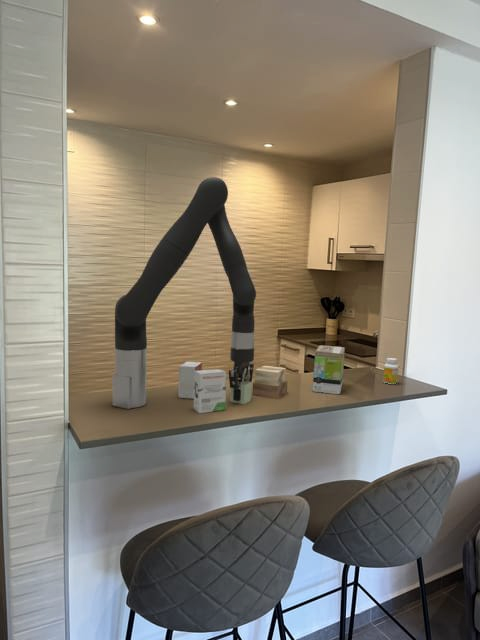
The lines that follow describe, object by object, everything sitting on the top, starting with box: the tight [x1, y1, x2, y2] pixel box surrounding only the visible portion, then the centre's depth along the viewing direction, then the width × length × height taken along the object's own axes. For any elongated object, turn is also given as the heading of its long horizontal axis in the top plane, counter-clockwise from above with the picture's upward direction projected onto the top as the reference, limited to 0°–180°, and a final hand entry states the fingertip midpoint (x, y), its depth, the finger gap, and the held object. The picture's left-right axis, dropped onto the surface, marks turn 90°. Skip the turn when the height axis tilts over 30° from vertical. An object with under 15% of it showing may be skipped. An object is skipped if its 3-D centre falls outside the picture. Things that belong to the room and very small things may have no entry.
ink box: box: [193, 368, 227, 414], centre depth 134 cm, size 9×5×12 cm, turn 116°
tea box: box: [311, 344, 346, 395], centre depth 164 cm, size 15×10×15 cm
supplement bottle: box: [382, 357, 399, 385], centre depth 175 cm, size 5×5×10 cm
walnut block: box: [251, 380, 288, 400], centre depth 154 cm, size 9×9×4 cm
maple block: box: [254, 365, 287, 386], centre depth 153 cm, size 8×8×4 cm
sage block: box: [229, 381, 253, 405], centre depth 144 cm, size 5×5×6 cm
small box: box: [178, 361, 203, 400], centre depth 149 cm, size 8×6×10 cm
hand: (240, 398), depth 145 cm, fingers closed on sage block, 5 cm apart
